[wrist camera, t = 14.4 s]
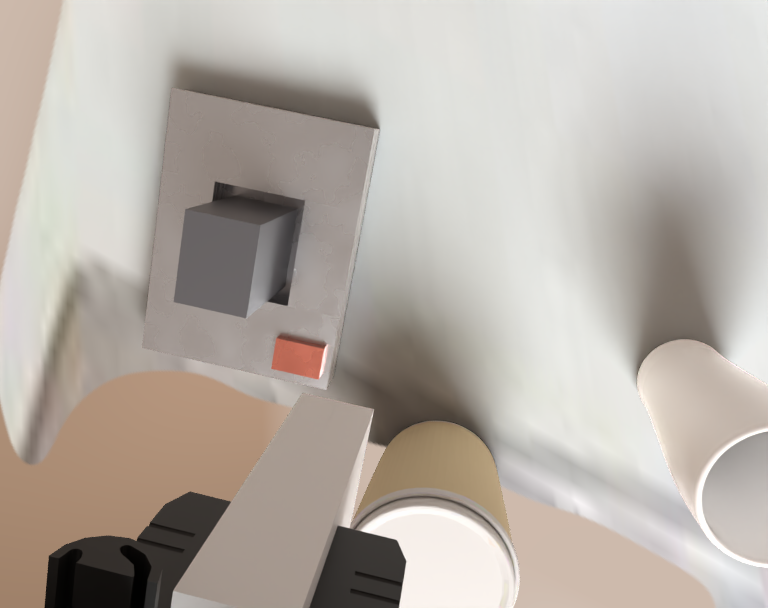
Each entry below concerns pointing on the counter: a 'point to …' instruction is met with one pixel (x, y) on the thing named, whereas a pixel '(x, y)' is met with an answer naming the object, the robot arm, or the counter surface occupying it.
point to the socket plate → (274, 185)
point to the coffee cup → (443, 518)
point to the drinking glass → (712, 441)
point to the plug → (234, 254)
